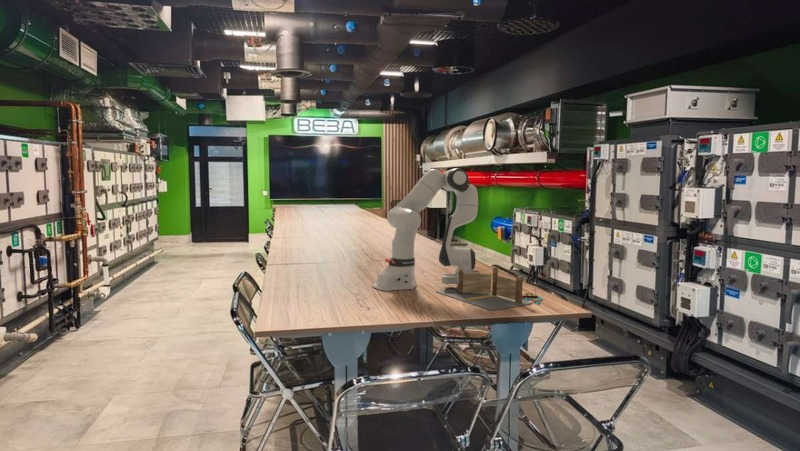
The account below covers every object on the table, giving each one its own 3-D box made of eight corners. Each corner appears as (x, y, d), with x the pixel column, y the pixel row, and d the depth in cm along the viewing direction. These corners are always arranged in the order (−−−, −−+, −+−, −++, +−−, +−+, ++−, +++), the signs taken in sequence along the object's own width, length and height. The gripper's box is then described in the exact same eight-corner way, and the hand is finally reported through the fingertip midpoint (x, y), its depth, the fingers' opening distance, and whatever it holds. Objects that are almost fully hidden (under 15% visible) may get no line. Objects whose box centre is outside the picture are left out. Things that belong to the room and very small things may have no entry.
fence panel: (491, 294, 241) (491, 270, 240) (458, 293, 243) (458, 269, 242) (490, 293, 243) (491, 269, 242) (458, 292, 245) (459, 268, 244)
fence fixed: (518, 304, 228) (519, 274, 226) (490, 295, 242) (491, 268, 241) (522, 303, 229) (523, 274, 228) (494, 295, 244) (495, 267, 242)
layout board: (491, 311, 216) (491, 309, 216) (435, 292, 249) (435, 291, 249) (532, 303, 229) (533, 302, 229) (474, 286, 262) (474, 285, 261)
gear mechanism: (526, 305, 228) (547, 305, 228) (526, 293, 228) (547, 293, 228) (515, 294, 248) (534, 294, 248) (515, 283, 248) (535, 283, 248)
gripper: (442, 270, 259) (440, 275, 245) (483, 271, 256) (484, 277, 243) (441, 282, 260) (440, 288, 246) (483, 284, 257) (484, 290, 243)
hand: (462, 283), depth 244 cm, fingers closed
